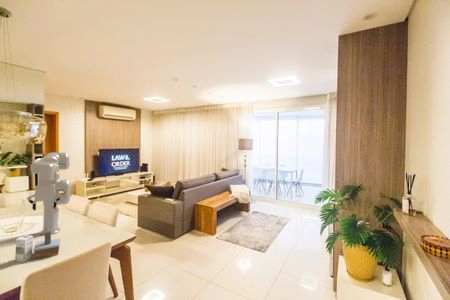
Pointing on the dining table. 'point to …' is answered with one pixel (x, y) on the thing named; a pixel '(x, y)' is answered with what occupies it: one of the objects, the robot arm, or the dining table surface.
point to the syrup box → (24, 248)
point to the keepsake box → (46, 252)
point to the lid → (47, 242)
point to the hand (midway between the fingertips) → (44, 209)
